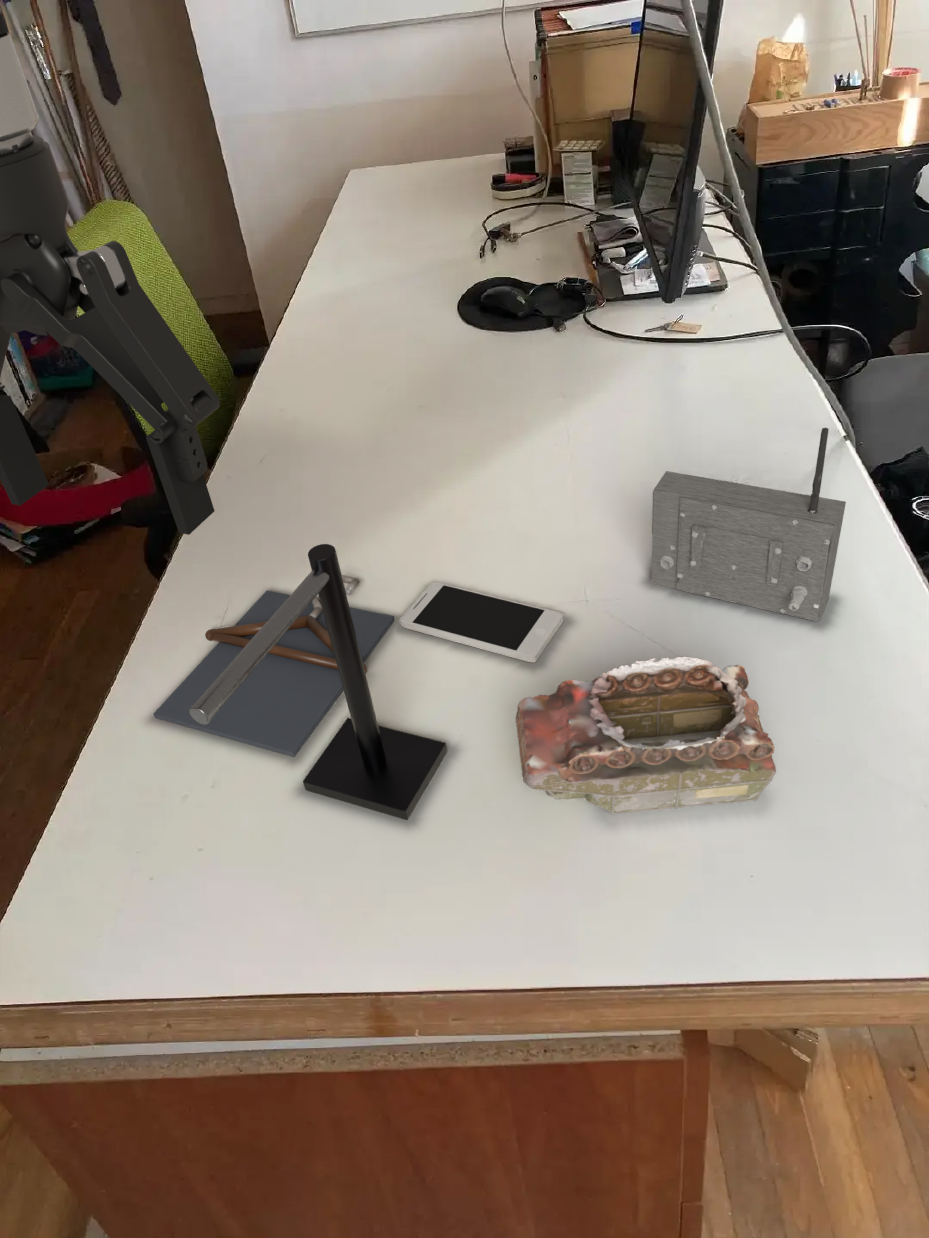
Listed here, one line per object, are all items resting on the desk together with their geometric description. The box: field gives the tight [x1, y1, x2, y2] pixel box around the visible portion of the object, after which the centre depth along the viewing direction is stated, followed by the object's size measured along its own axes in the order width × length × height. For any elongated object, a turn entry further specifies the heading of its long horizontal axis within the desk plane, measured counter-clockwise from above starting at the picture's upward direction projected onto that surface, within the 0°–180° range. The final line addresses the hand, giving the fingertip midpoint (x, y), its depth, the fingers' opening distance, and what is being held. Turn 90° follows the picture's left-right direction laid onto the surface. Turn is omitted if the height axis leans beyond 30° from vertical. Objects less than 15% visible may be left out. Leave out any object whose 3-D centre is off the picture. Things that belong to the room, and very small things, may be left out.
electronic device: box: [650, 427, 847, 622], centre depth 88 cm, size 17×7×20 cm, turn 61°
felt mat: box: [153, 590, 396, 758], centre depth 93 cm, size 16×20×1 cm
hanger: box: [204, 574, 368, 675], centre depth 97 cm, size 19×1×14 cm
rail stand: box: [189, 543, 448, 821], centre depth 70 cm, size 20×10×24 cm, turn 156°
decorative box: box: [515, 656, 777, 815], centre depth 73 cm, size 13×20×10 cm, turn 86°
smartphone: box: [399, 581, 564, 663], centre depth 95 cm, size 7×15×1 cm, turn 62°
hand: (110, 508), depth 60 cm, fingers open, 13 cm apart
